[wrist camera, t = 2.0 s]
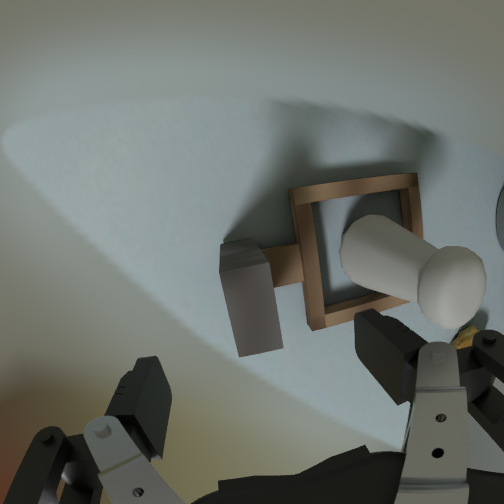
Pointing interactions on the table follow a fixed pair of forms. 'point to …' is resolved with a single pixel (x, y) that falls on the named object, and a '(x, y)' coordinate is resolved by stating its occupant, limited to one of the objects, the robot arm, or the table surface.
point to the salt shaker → (414, 270)
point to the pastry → (464, 338)
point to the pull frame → (301, 266)
